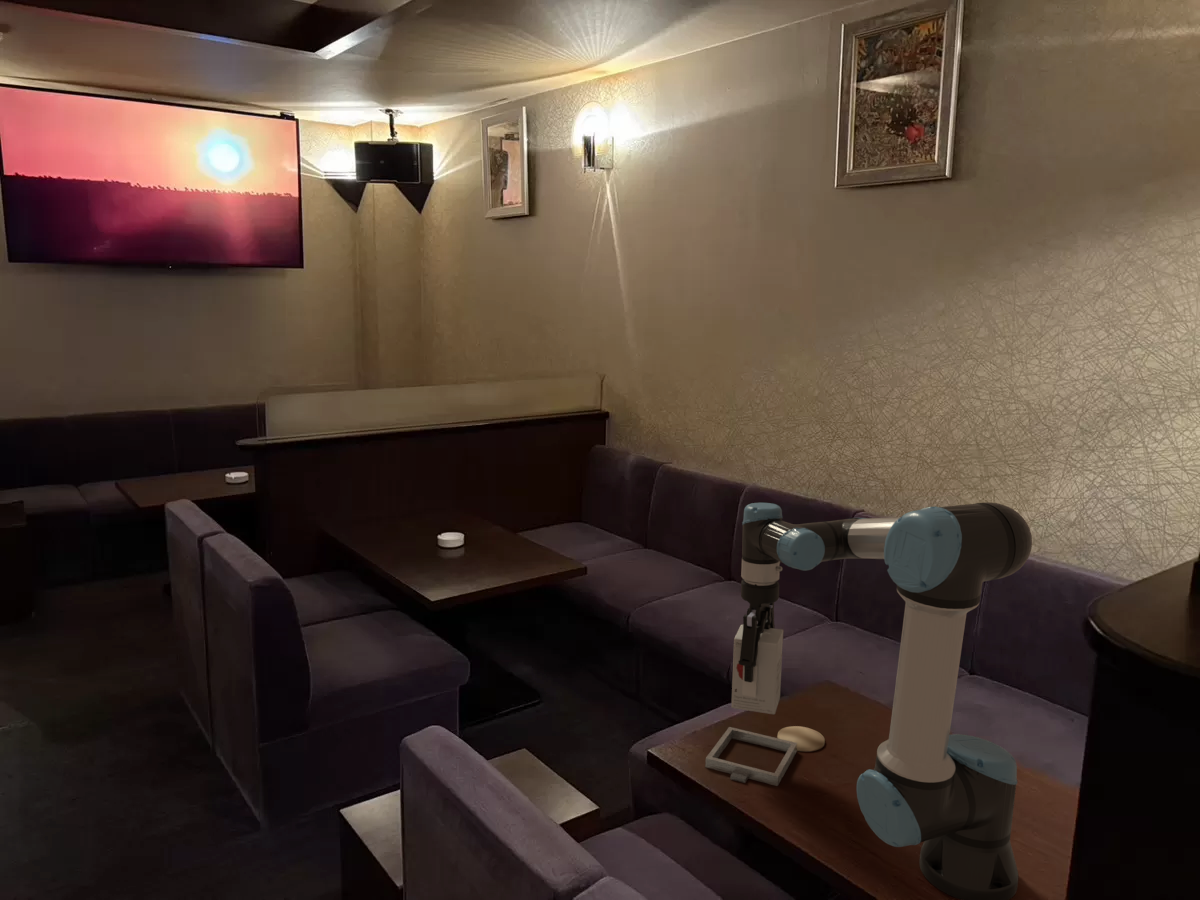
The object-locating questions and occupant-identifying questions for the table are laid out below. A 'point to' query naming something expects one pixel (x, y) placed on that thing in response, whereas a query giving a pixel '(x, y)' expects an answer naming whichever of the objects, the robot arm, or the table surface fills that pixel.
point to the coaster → (802, 738)
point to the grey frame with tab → (746, 772)
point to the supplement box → (760, 673)
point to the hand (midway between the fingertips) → (756, 686)
